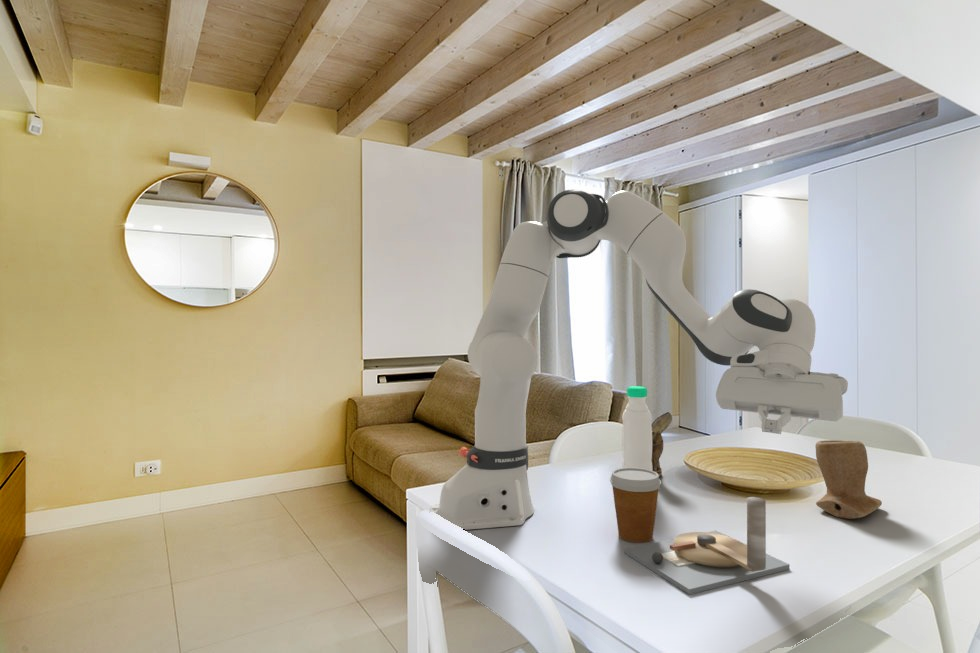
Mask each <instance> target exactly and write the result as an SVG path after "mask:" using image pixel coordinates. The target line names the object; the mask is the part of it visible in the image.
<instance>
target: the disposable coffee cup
mask: <svg viewBox="0 0 980 653" xmlns="http://www.w3.org/2000/svg"><path fill="white" fill-rule="evenodd" d="M609 482H610V485H611V486H612V493H613V494H612V495H613V501H614V503H613V504H614V510H615V517H616V525H617V532H618V537H619V538H620V539H622V540H624V541H626V542H630V543H647V542H651V541H652V540H653V539H654V538H653V537H654V530H655V523H656V522H655V520H656V514H657V513H656V512H657V506H658V496H659V488H661V485H662V481H661V480H660V477H659V475H658V473H656V472H654V471H651V470H648V469H642V468H622V467H621V468H617V469H614V470H612V472H611V475H610V477H609Z"/></svg>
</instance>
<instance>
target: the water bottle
mask: <svg viewBox="0 0 980 653" xmlns="http://www.w3.org/2000/svg"><path fill="white" fill-rule="evenodd" d="M626 395H627V399H628V401H627V404H626V406H625V409H624V410H623V413H622V415H621V419H622V420H621V421H622V429H621V431H622V432H621V434H622V435H621V436H622V437H621V442H622V444H621V445H622V446H621V447H622V450H621V451H622V467H621V468H642V469H648V470H651V471H652V461H651V460H652V432H653V431H652V426H651V425H652V423H653V416H652V413H651V411H650V410H649V407H648V405H647V403H646V399H647V397H648V389H647V388H646V387H644V386H639V385H638V386H637V385H635V386H633V385H632V386H629V387H627V388H626Z"/></svg>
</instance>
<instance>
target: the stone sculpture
mask: <svg viewBox="0 0 980 653" xmlns="http://www.w3.org/2000/svg"><path fill="white" fill-rule="evenodd" d="M672 421H673V415H672V414H671V413H670V412H669V411H667V412H665V413H663V414H661V415H660V416H658V417H656V418H655V419H654V421H652V422H651V426H652V460H651V461H652V471H654V472H656V473H658V475H659V478H661V477H662V474H663V472H662V468H661V465H660V458H661V456H662V454H663V451H664V439H663V438H664V437H663V435H662V434H663V432H664V431H665V430H666V429H668V427H669V426H670V425H671V423H672Z"/></svg>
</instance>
